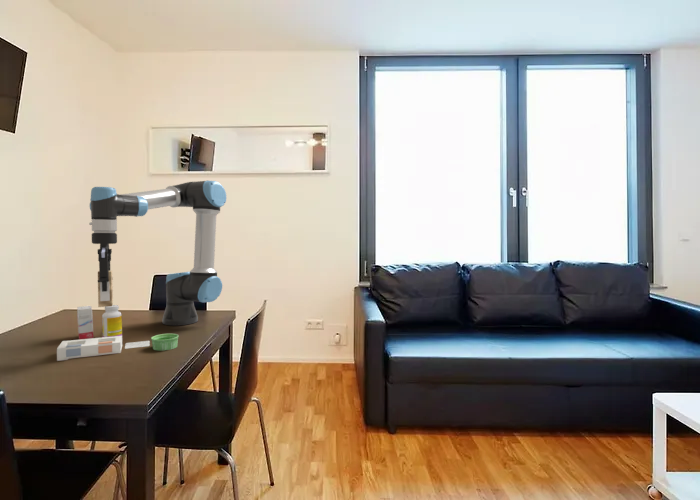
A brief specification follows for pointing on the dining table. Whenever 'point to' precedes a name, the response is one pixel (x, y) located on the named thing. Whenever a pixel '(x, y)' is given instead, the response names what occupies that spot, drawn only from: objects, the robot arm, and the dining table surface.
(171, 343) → the ramekin
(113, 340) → the socket board
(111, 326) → the supplement bottle
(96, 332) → the dining table surface
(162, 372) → the dining table surface
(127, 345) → the mat
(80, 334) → the ink box
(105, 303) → the oak peg
